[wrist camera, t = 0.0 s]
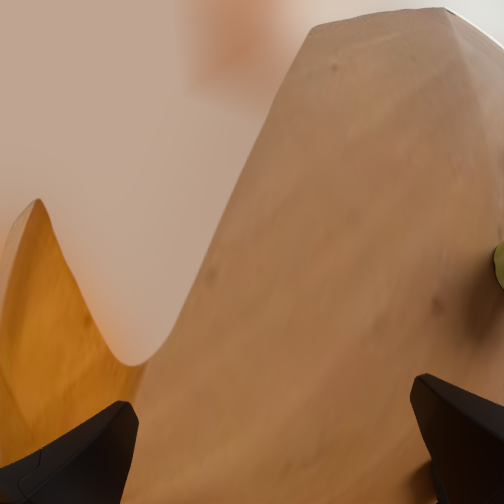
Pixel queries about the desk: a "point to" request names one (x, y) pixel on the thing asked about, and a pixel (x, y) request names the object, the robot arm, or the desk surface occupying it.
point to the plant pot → (499, 263)
